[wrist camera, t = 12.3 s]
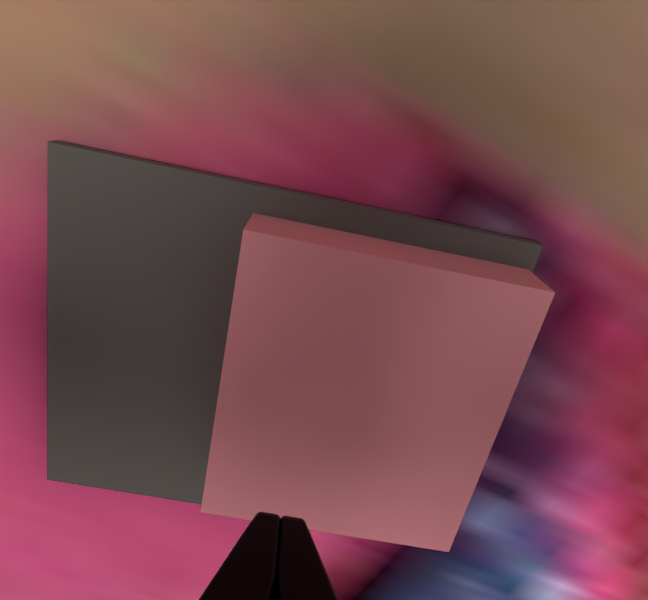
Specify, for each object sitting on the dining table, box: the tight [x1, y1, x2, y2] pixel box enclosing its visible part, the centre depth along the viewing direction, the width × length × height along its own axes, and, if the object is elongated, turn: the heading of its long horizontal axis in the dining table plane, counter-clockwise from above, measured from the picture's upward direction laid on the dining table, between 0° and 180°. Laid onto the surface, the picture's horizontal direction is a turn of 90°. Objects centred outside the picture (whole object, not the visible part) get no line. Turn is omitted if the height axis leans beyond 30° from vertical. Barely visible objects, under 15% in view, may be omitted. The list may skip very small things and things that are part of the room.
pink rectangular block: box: [201, 213, 555, 552], centre depth 13 cm, size 8×2×7 cm
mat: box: [47, 140, 543, 504], centre depth 14 cm, size 10×12×1 cm
